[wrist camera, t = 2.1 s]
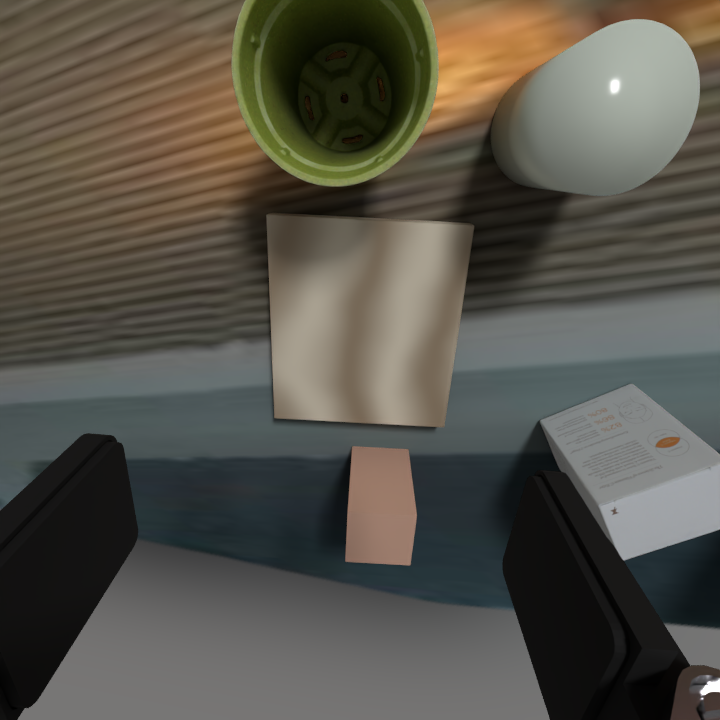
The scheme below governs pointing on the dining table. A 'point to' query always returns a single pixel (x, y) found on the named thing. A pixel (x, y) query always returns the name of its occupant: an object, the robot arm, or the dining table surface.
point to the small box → (637, 470)
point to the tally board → (365, 316)
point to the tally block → (380, 507)
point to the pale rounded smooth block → (599, 112)
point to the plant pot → (335, 83)
